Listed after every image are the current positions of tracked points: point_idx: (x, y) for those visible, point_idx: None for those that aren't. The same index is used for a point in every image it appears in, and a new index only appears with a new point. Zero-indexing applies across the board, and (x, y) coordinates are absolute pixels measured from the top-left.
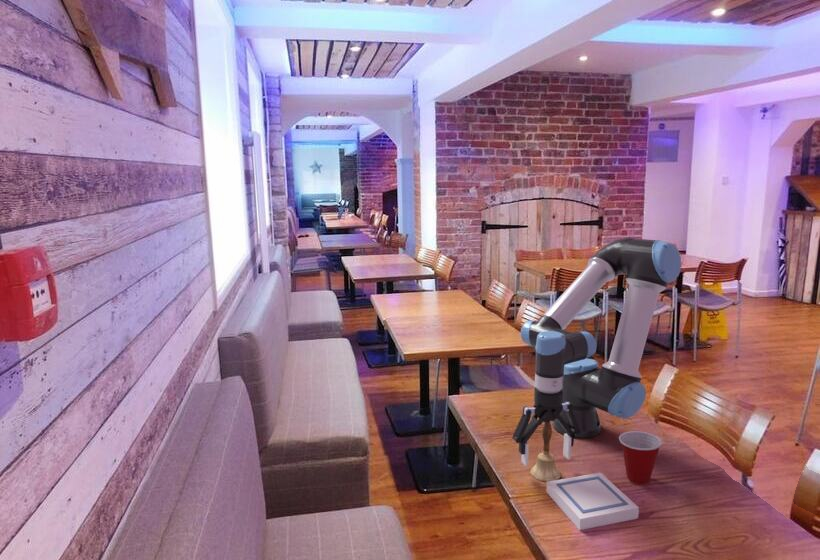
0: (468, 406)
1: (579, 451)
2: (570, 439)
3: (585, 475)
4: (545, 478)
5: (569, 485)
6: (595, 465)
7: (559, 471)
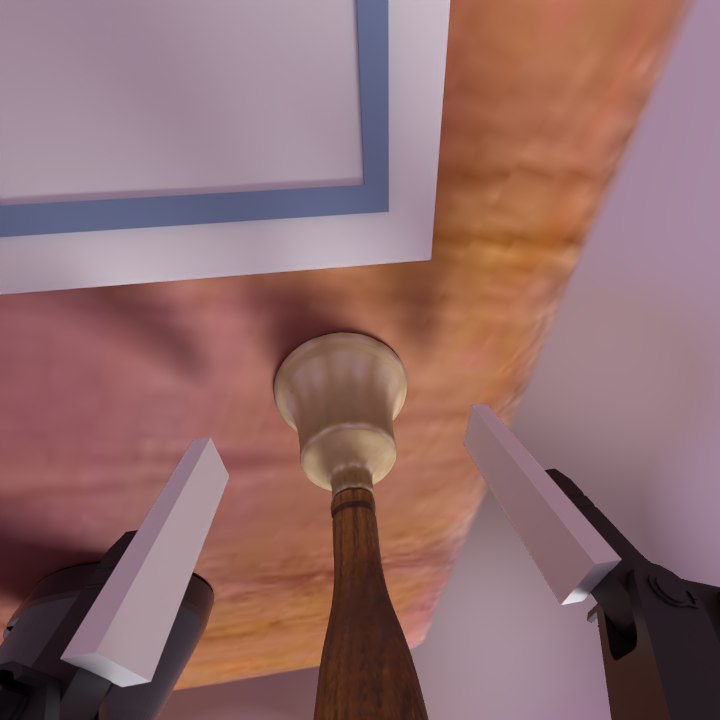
0: (405, 631)
1: (143, 503)
2: (89, 629)
3: (117, 280)
4: (371, 347)
5: (290, 165)
6: (74, 421)
7: (278, 390)
